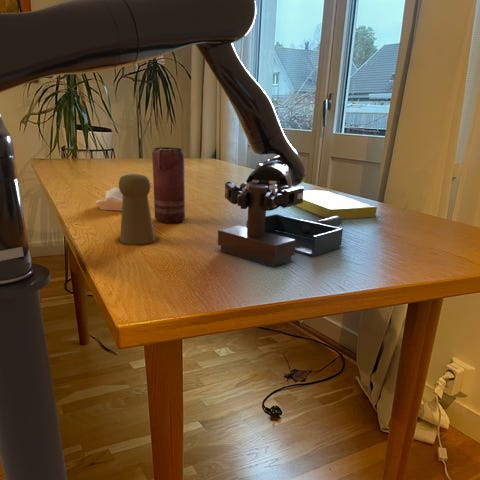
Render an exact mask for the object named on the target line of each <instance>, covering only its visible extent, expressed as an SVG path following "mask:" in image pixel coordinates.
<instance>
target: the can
mask: <svg viewBox="0 0 480 480" xmlns="http://www.w3.org/2000/svg"><path fill="white" fill-rule="evenodd" d="M151 155H152V157H151V158H152V178H153V179H152V182H153V205H154V219H155V220H156V221H157V223H158V222H159V223H162V224H179V223H182V222H184V220H185V219H186V187H185V185H186V184H185V183H186V182H185V181H186V180H185V178H186V177H185V152H184V151H183V148H182V147H181V148H180V147H168V146H167V147H163V146H162V147H154V148H153V150H152V153H151Z"/></svg>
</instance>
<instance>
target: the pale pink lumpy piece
mask: <svg viewBox="0 0 480 480" xmlns="http://www.w3.org/2000/svg"><path fill="white" fill-rule="evenodd" d="M104 196H105V198H104V199H97V200H96V201H95V204H96V205H97V206H98V207H99V210H104V211H105V210H106V211H119V212H120V211H121V212H122V203H123V195H122V193H121V192H120V189H119V187H112V188H111V189H108V190H106V192H105V194H104Z"/></svg>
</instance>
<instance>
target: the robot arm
mask: <svg viewBox="0 0 480 480" xmlns="http://www.w3.org/2000/svg"><path fill="white" fill-rule="evenodd" d="M256 15H257V5H256V1H255V0H64V1H61V2H58V3H55V4H52V5H49V6H47V7H43V8H40V9H36V10H31V11H24V12H23V11H22V12H0V93H3V92H6V91H8V90H11V89H14V88H17V87H19V86H23V85H26V84H29V83H32V82H35V81H38V80H41V79H42V80H43V79H45V78H49V77H54V76H61V75H62V76H63V75H82V74H83V75H84V74H92V73H98V72H99V73H100V72H107V71H112V70H117V69H121V68H125V67H129V66H135V65H138V64H140V63H144V62H148V61H151V60H153V59H156V58H159V57H162V56H165V55H168V54H171V53H174V52H176V51H178V50H181V49H184V48H186V47H189V46H194V45H195V47H196V48H197V49H198V51H199V52H200V55H201V56H202V57H203V59H204V61H205V62H206V64H207V66H208V67H209V70H211V72H212V74H213V75H214V77H215V79H216V80H217V82H218V84H219V85H220V87H221V88H222V90H223V92H224V94H225V96H226V98H227V99H228V100H229V102H230V104H231V106H232V108H233V110H234V112H235V115H236V117H237V119H238V121H239V123H240V126H241V128H242V131H243V132H244V135H245V138H246V140H247V142H248V145H249V146H250V149H251V151H252V152H253V153H254V154H256V155H260V156H261V155H262V156H263V155H270V154H271V155H272V154H273V155H277V156H274V157H271V158H269V159H266V160H264V161H261V162H259V163H258V164H257V165H256V166H255V169H254V170H253V171H252V172H251V173H250V174H249V175H248V177H247V179H246V181H245V182H242V183H241V184H240V185H239V186H238V185H237V184H236V183H233V182H232V181H225V182H224V198H225V199H226V200H227V201H228V202H229V203H230V204H232V205H237V206H238V207H240V209H241V210H247V209H248V197H249V185H265V186H267V193H266V194H265V196H264V207H263V210H264V211H266V212H270V211H274V210H277V209H278V208H282V209H286V208H289V207H290V208H291V207H293V206H295V205H297V204H300V203H303V194H304V191H305V187H304V186H301V184H303V183H304V181H305V179H306V175H307V170H306V169H307V167H306V165H305V162H304V160H303V159H302V158H301V156H300V154H299V153H298V152H297V150H296V149H295V148H294V147H293V146H292V144H291V143H290V141H289V140H288V138H287V136H286V135H285V133H284V130H283V128H282V126H281V123H280V120H279V118H278V115H277V113H276V110H275V107H274V105H273V103H272V101H271V99H270V98H269V96H268V95H267V93H266V91H265V90H264V89H263V88H262V87H261V85H260V84H259V83H258V82H257V81H256V79H255V78H254V77H253V76H252V75H251V74H250V72H249V71H248V69H246V67H245V66H244V64H243V62H242V61H241V60H240V57H239V56H238V54H237V52H236V49H235V47H234V43H236V42H239V41H241V40H242V39H243V38H245V37H246V36H247V35H248V34H249V32H250V31H251V29H252V28H253V25H254V23H255V19H256ZM1 114H2V113H0V286H5V285H11V284H15V283H19V282H22V281H24V280H27V279H29V278H30V277H31V276H32V275H33V267H32V264H31V263H33V262H32V258H31V253H30V244H29V238H28V232H27V226H26V220H25V213H24V206H23V201H22V193H21V188H20V180H19V175H18V174H19V173H18V167H17V162H16V155H15V149H14V148H15V147H14V143H13V138H12V135H11V134H10V132H9V131H8V129H7V127H6V125H5V123H4V121H3V118H2V115H1Z"/></svg>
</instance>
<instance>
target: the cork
mask: <svg viewBox="0 0 480 480" xmlns="http://www.w3.org/2000/svg"><path fill="white" fill-rule="evenodd" d="M118 188H119V189H120V192H121V193H122V195H123V203H122V211H121V219H120V233H119V234H120V236H119V242H121V243H123V244H126V245H133V246H134V245H148V244H152V243H154V242H155V241H156V236H155V230H154V226H153V220H152V212H151V208H150V203H149V196H148V195H149V194H150V192H151V180H150V179H149V177H147V176H146V175H144V174H138V173H129V174H125V175H122V176H120V178H119V180H118Z"/></svg>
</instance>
